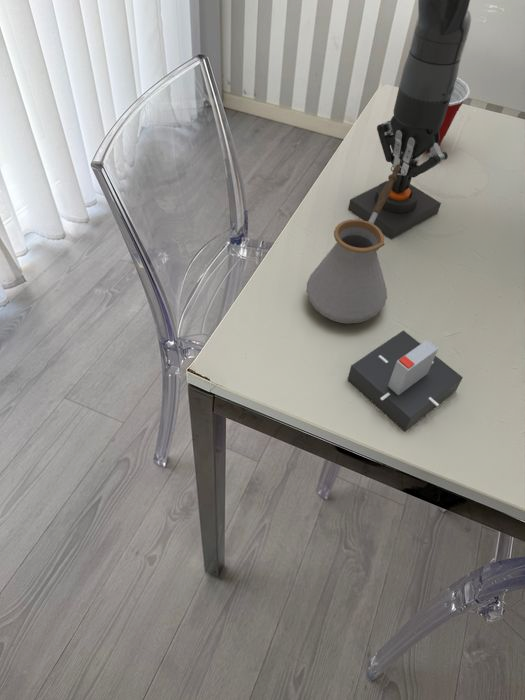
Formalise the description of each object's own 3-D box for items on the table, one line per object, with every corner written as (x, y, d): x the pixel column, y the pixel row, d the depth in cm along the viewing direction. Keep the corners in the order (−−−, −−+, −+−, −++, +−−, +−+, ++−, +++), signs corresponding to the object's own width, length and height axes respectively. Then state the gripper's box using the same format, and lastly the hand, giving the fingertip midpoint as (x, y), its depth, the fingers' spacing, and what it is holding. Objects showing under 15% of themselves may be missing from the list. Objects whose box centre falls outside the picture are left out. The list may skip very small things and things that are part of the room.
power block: (394, 186, 103) (399, 166, 100) (437, 213, 98) (444, 194, 95) (347, 210, 98) (351, 190, 94) (390, 240, 93) (396, 220, 90)
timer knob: (416, 365, 72) (427, 338, 68) (427, 373, 71) (439, 347, 67) (387, 386, 70) (397, 359, 66) (398, 395, 69) (408, 369, 65)
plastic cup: (386, 148, 111) (400, 87, 102) (409, 126, 117) (425, 66, 108) (437, 167, 107) (456, 106, 98) (459, 144, 113) (479, 84, 104)
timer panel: (398, 344, 78) (403, 329, 76) (461, 395, 73) (469, 380, 71) (342, 382, 74) (346, 367, 71) (405, 440, 68) (411, 426, 66)
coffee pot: (366, 345, 78) (390, 262, 66) (291, 315, 81) (301, 230, 69) (413, 256, 90) (440, 173, 79) (346, 233, 93) (363, 150, 82)
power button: (395, 189, 98) (397, 180, 96) (413, 200, 96) (415, 191, 94) (379, 197, 96) (381, 188, 94) (397, 208, 94) (399, 200, 93)
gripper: (374, 75, 82) (354, 179, 96) (446, 113, 76) (413, 218, 90) (408, 63, 86) (384, 165, 99) (479, 98, 80) (443, 202, 93)
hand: (398, 190), depth 94 cm, fingers closed
